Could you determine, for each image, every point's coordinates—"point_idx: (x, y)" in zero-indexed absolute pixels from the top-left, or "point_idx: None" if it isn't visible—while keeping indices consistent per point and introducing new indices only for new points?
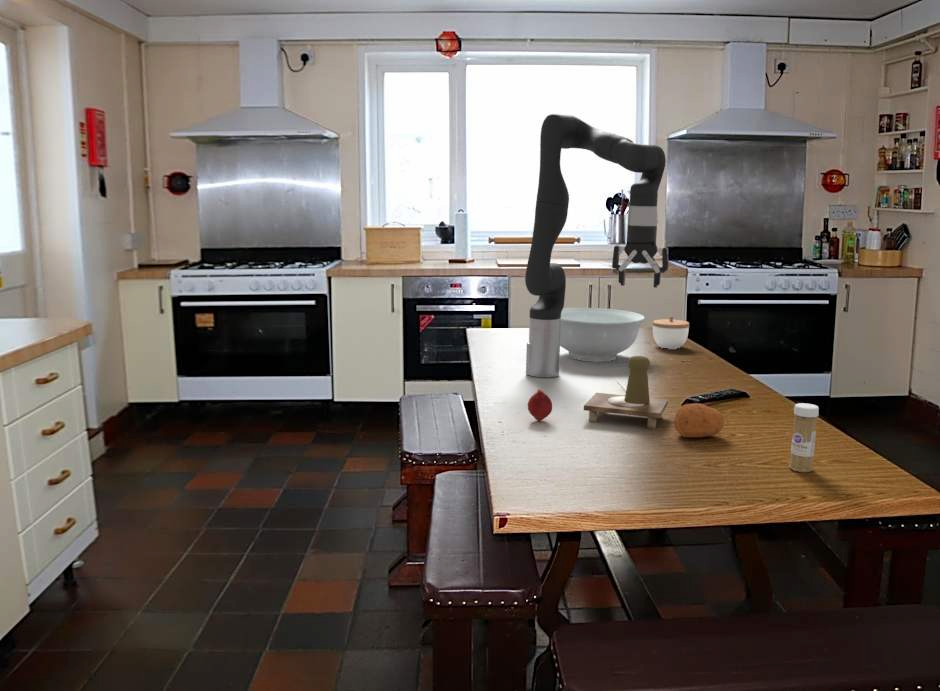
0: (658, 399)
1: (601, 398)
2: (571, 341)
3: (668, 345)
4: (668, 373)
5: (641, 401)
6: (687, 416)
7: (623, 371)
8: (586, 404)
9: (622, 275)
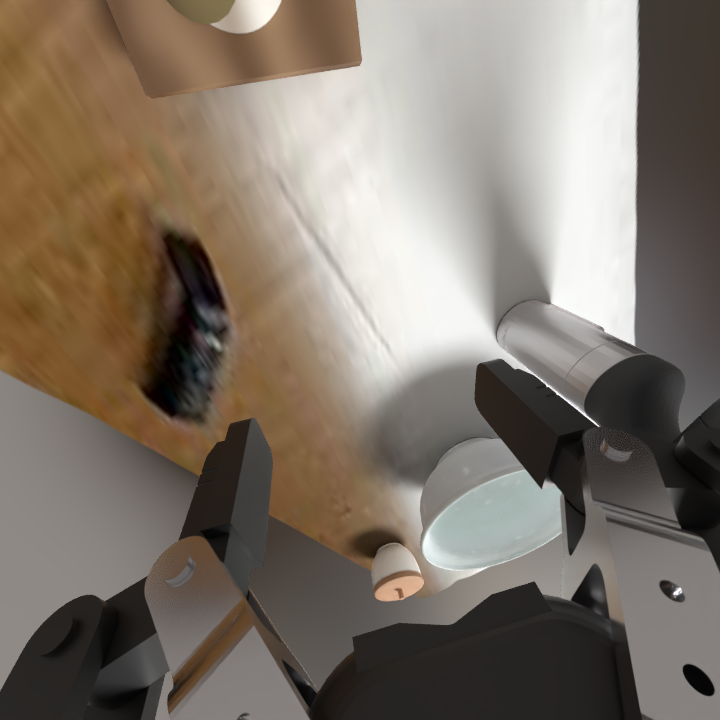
0: (168, 76)
1: None
2: None
3: (388, 547)
4: (338, 448)
5: None
6: None
7: (404, 420)
8: None
9: (541, 406)
